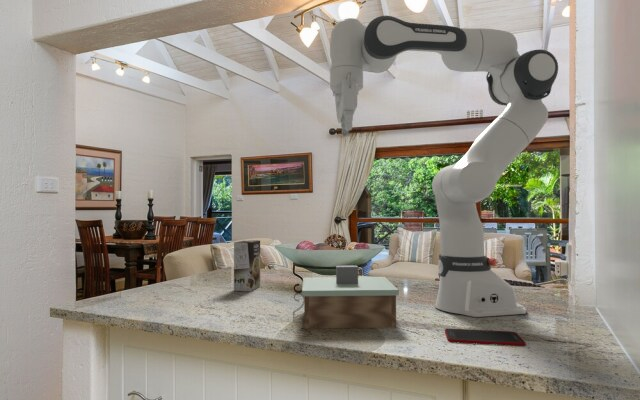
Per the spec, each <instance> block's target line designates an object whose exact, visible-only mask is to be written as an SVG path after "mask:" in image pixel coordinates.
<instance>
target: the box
mask: <svg viewBox="0 0 640 400" xmlns="http://www.w3.org/2000/svg"><path fill="white" fill-rule="evenodd" d="M303 297H304V298H303V299H304V305H303V306H304V315H303V316H304V329H361V328H362V329H363V328H364V329H367V328H368V329H370V328H371V329H372V328H373V329H374V328H375V329H376V328H378V329H380V328H383V329H384V328H397V295H389V296H303Z"/></svg>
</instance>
